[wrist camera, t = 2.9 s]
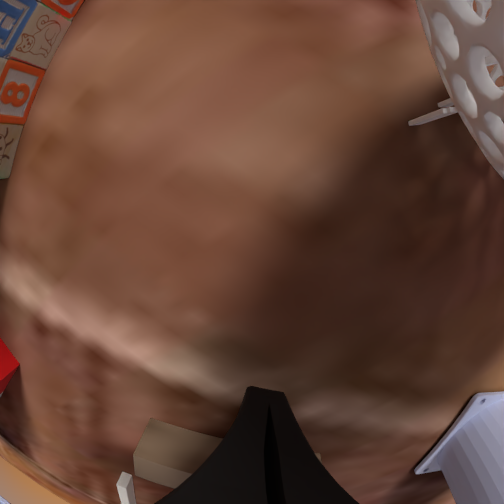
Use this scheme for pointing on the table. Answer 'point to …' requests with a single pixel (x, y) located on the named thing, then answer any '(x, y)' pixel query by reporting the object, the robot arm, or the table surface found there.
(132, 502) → the white u-shaped bracket
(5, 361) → the puzzle toy
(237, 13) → the table surface
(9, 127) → the stack of blocks
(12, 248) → the table surface
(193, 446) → the walnut T-block
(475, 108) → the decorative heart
